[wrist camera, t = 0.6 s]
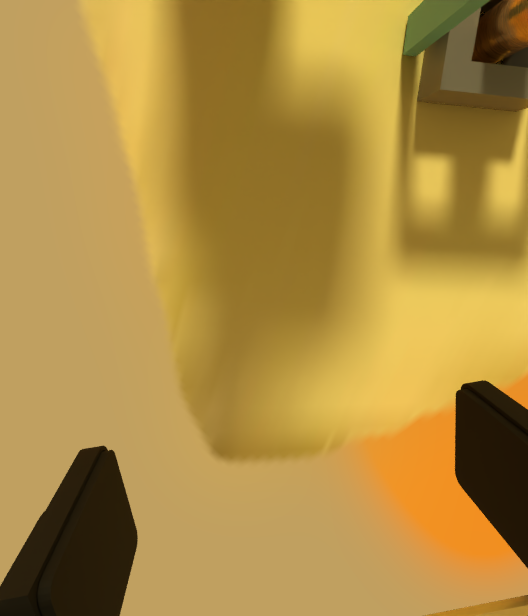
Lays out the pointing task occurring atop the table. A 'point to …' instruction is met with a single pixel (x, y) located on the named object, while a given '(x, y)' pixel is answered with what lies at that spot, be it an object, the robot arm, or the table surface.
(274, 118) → the table surface
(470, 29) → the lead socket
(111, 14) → the table surface
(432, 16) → the green arch
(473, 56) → the cylinder
